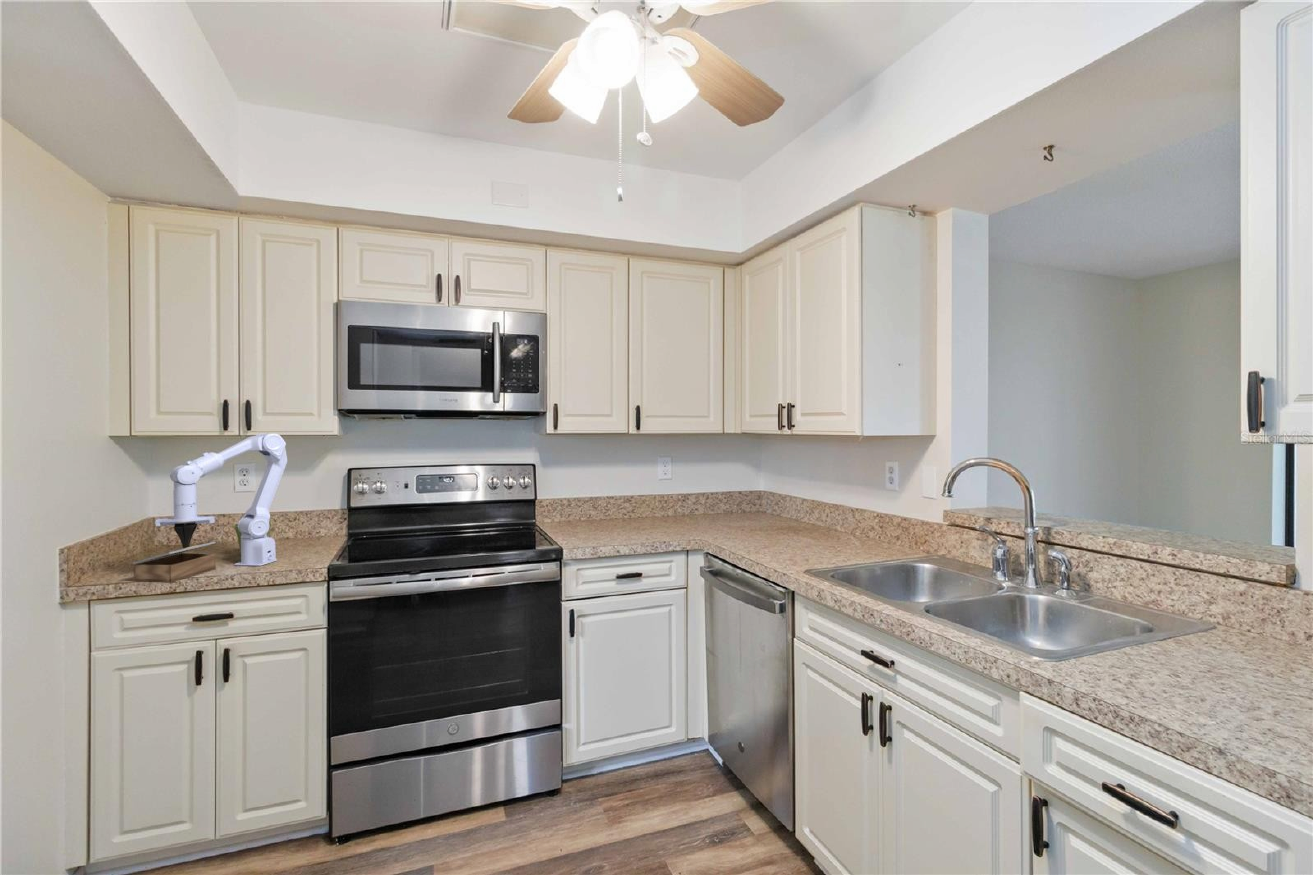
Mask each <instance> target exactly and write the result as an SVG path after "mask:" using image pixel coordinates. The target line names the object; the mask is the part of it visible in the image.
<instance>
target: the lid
mask: <svg viewBox="0 0 1313 875" xmlns="http://www.w3.org/2000/svg"><path fill="white" fill-rule="evenodd" d="M214 544H216V541H212V542H207V543H203V544H198V545H197V544H196V545H192V546H189V547H188V548H181V549H177V550H173V551H169V552H165V553H162V554H158V555H154V556H152V557H148V558H144V559H140V560H137V561H134V562H133V561H132V565H135V564H139V563H143V562H147V561H151V560H155V559H159V558H163V557H167V556H171V555H175V554H180V553H187V552H188V551H193V550H197V549H199V548H203V547H207V546H210V545H214Z"/></svg>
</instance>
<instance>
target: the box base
mask: <svg viewBox="0 0 1313 875" xmlns="http://www.w3.org/2000/svg"><path fill="white" fill-rule="evenodd" d="M216 563H217V562H216V553H196V552H195V553H193V552H192V553H189V552H182V553H178V554H174V555H170V556H166V557H162V558H158V559H154V560H150V561H146V562H142V563H137V564H133V581H134V582H138V583H139V582H144V583H145V582H146V583H174V582H176V581H180V580H184V579H187V578H190V577H194V576H197V575H201V574H204V572H205V573H207V572H211V570H212V571H215V570H216V568H217V567H216V565H217V564H216Z"/></svg>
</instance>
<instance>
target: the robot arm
mask: <svg viewBox="0 0 1313 875" xmlns="http://www.w3.org/2000/svg"><path fill="white" fill-rule="evenodd" d="M286 445H287V443H286V441H285V440H284V438H283V437H282V436H281V435H280V434H278V433H265V432H260V433H256V435H252V436H249V437H247V438H245V439H243V440H241V441H239V442H237V443H235V444H233V445H232V446H230V447H227V448H226V449H223V450H222V451H219V452H218V453H217V452H212V451H210V452H203V453H201V455H202V456H200V457H197V458H196V459H193V460H188V461H186V462H185V464H184V465H183V464H181V465H178V466H176V467H174V468H173V470H172V471H171V474H170V475H169V479H170V480H171V481H172V482H173V517H170V518H157V519H155V527H163V526H173V530H174V532H175V533H176V534H177V536H178V538H179V540H180V542H181V545H182V549H184V548H188V547H191V546H190V545H191V542H192V538H193V535H194V533H195V531H196V529H197V527H198V524H199V525H200V524H202V525H203V524H215V522H216V516H213V515H212V516H198V498H197V497H198V489H197V482H198V481H199V480H200V478H203V477H205V476H207V475H209V474H212V473H213V472H215V471H217V470H219V469H221V468H223V466H224V463H225V462H227V461H229V460H231V459H232V460H233V458H236V457H239V456H241V455H242V454H245V453H247V452H249V451H251V452H252V451H257V452H259V453H260V454H261V455H262V456H263V457H264V458H265V460H266V461H267V465H266V468H265V470H264V472H263V475H262V477H261V478H262V479H261V480H260V483H259V484H258V488H257V490H256V493H255V496H254V499H253V501H252V503H251V506H250V507H249V509H247V510H246V511H245V514H244V516H243V517H242V518H241V519H239V521H238V523H237V524H238V529H239V531H240V532H241V533H242V535H241V553H240V561H239V562H237V563H234V565H233V566H258V567H261V566H264V565H267V564H270V563H274V562H277V561H278V558H276V557H277V556H276V540H275V539H274V538H273V537H269V536H268V537H267V536H266V535H267V534H266V533H267V532H268V530H269V522H270V519H271V513H270V508H271V506H272V503H273V501H274V498H275V496H276V493H277V490H278V487H279V485H280V482H281V480H282V477H283V475H284V471H285V470H286V467H287V464H288V456H287V450H286Z"/></svg>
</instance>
